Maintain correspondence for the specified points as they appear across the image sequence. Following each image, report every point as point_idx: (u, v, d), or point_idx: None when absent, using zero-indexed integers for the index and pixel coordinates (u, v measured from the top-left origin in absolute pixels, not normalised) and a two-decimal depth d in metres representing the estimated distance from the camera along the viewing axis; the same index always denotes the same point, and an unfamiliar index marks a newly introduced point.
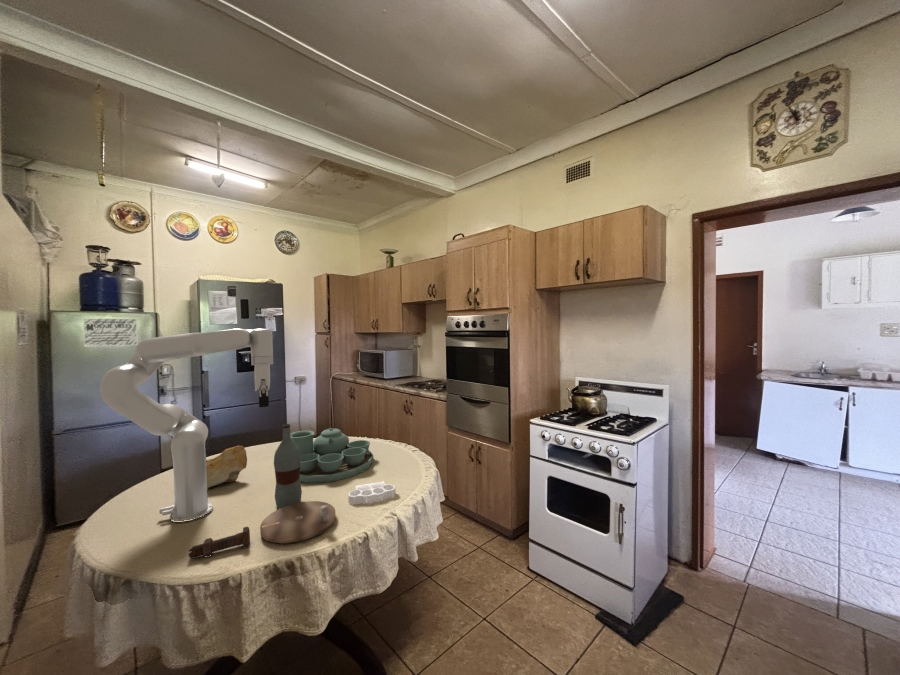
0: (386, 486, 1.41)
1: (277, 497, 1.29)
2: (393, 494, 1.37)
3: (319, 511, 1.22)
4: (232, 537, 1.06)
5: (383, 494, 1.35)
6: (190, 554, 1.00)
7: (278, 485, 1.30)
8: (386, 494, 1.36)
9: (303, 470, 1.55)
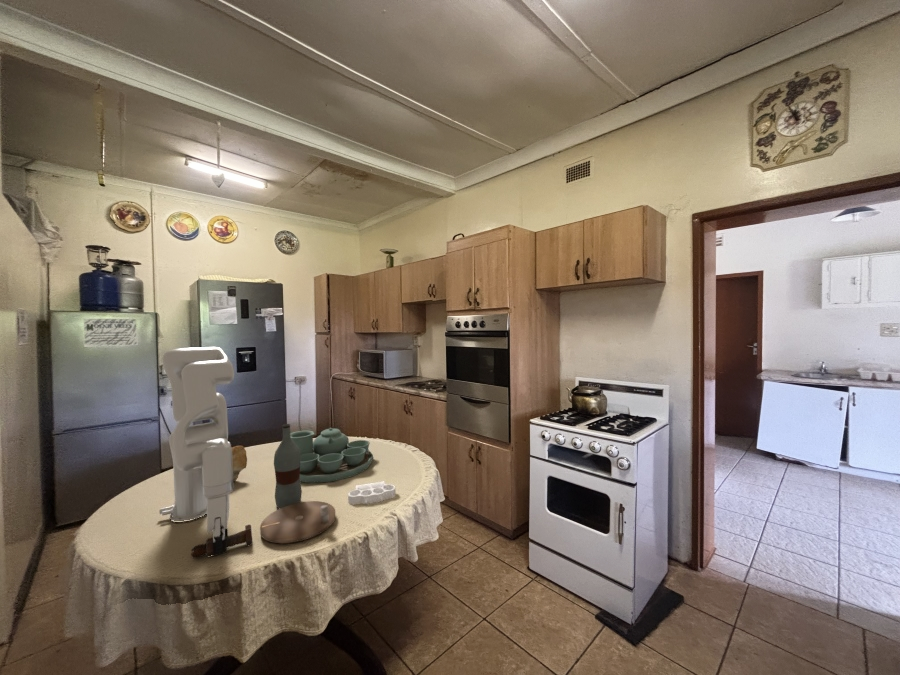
0: (386, 486, 1.41)
1: (277, 497, 1.29)
2: (393, 494, 1.37)
3: (319, 511, 1.22)
4: (235, 535, 1.06)
5: (383, 494, 1.35)
6: (193, 554, 1.00)
7: (278, 485, 1.30)
8: (386, 494, 1.36)
9: (303, 470, 1.55)
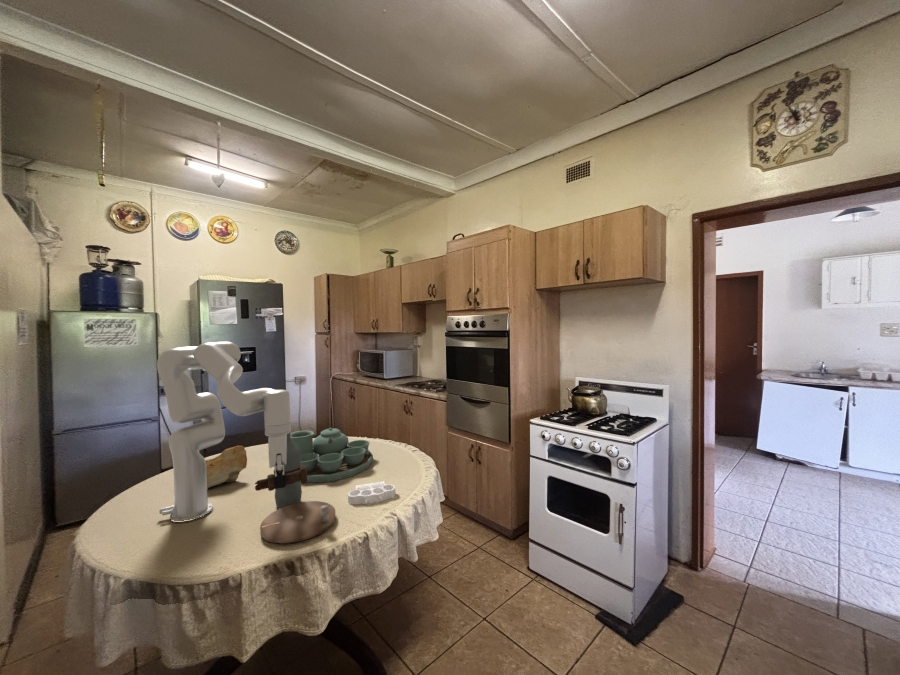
0: (386, 486, 1.41)
1: (277, 497, 1.29)
2: (393, 494, 1.37)
3: (319, 511, 1.22)
4: (292, 473, 1.16)
5: (383, 494, 1.35)
6: (256, 486, 1.10)
7: None
8: (386, 494, 1.36)
9: None
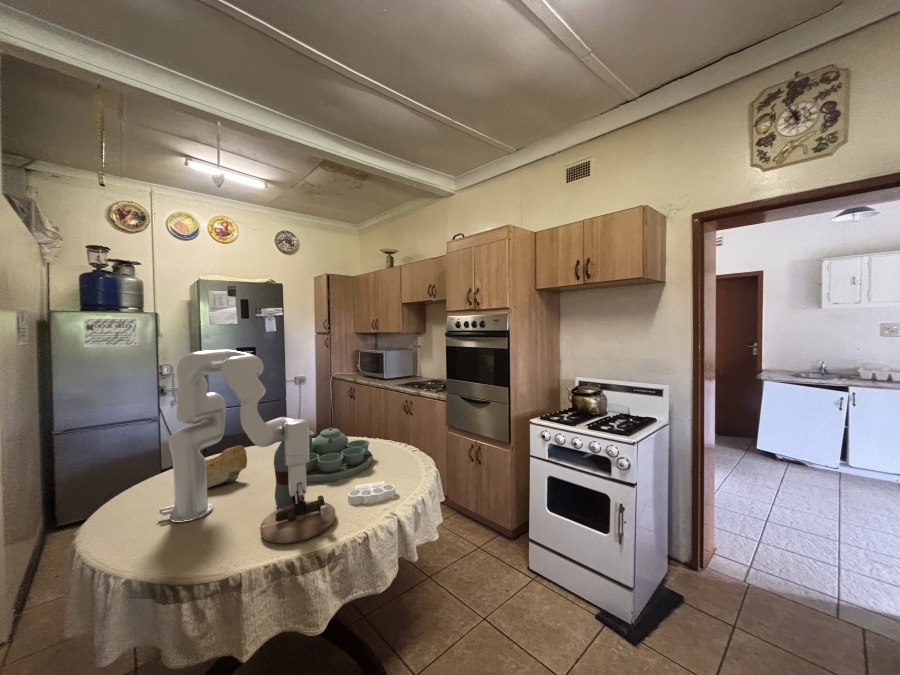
0: (386, 486, 1.41)
1: (277, 497, 1.29)
2: (393, 494, 1.37)
3: None
4: (310, 504, 1.19)
5: (383, 494, 1.34)
6: (277, 518, 1.14)
7: (278, 485, 1.30)
8: (386, 494, 1.36)
9: None
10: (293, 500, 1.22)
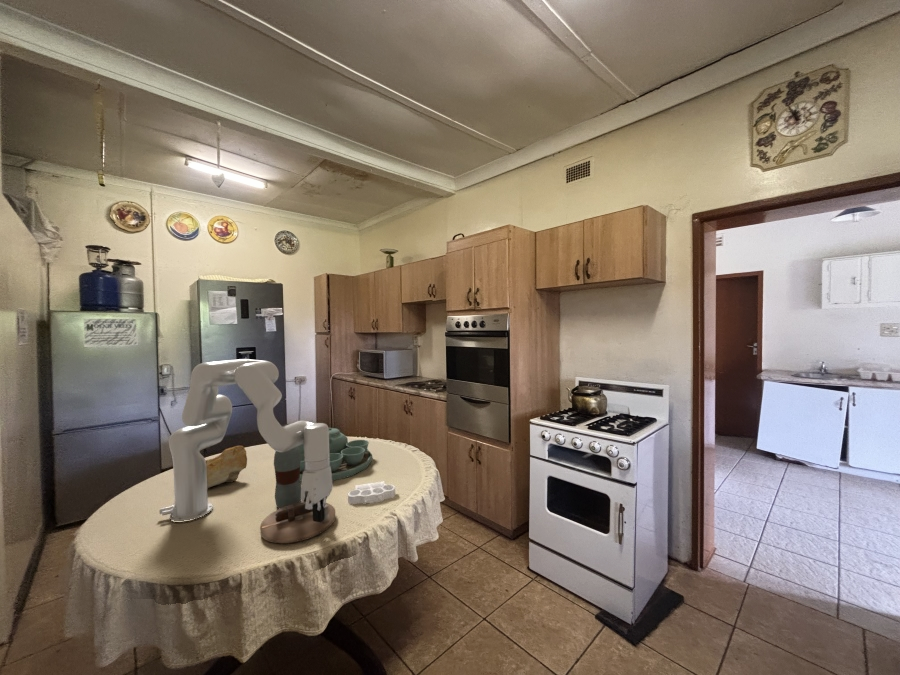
0: (386, 486, 1.41)
1: (277, 497, 1.29)
2: (393, 494, 1.37)
3: None
4: None
5: (382, 494, 1.34)
6: (277, 518, 1.14)
7: (278, 485, 1.30)
8: (385, 494, 1.36)
9: (303, 470, 1.55)
10: None
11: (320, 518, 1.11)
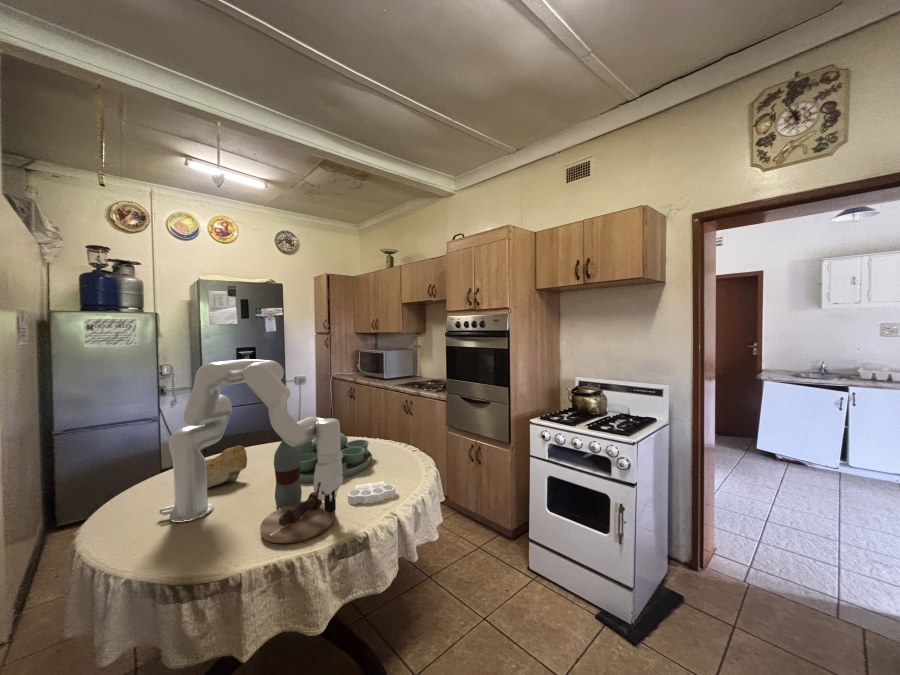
0: (386, 486, 1.41)
1: (277, 497, 1.29)
2: (392, 494, 1.37)
3: (311, 508, 1.25)
4: (308, 501, 1.21)
5: (382, 494, 1.34)
6: (285, 521, 1.12)
7: (278, 485, 1.30)
8: (385, 494, 1.36)
9: (302, 470, 1.55)
10: None
11: (332, 508, 1.17)
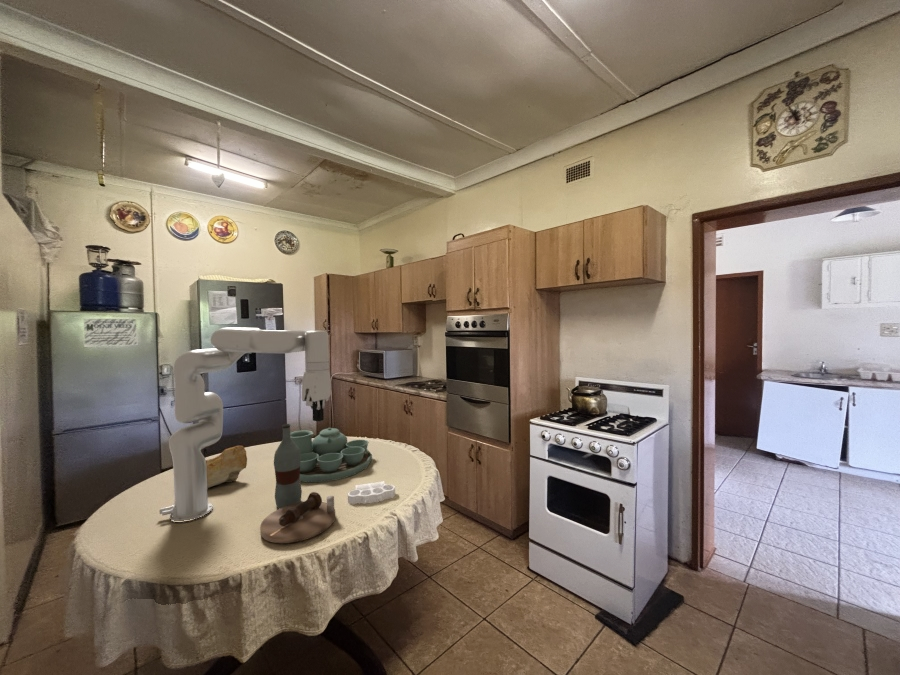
0: (386, 486, 1.41)
1: (277, 497, 1.29)
2: (392, 494, 1.37)
3: (311, 508, 1.25)
4: (308, 501, 1.21)
5: (382, 494, 1.34)
6: (286, 521, 1.12)
7: (278, 485, 1.30)
8: (385, 494, 1.36)
9: (302, 470, 1.55)
10: None
11: (319, 417, 1.20)
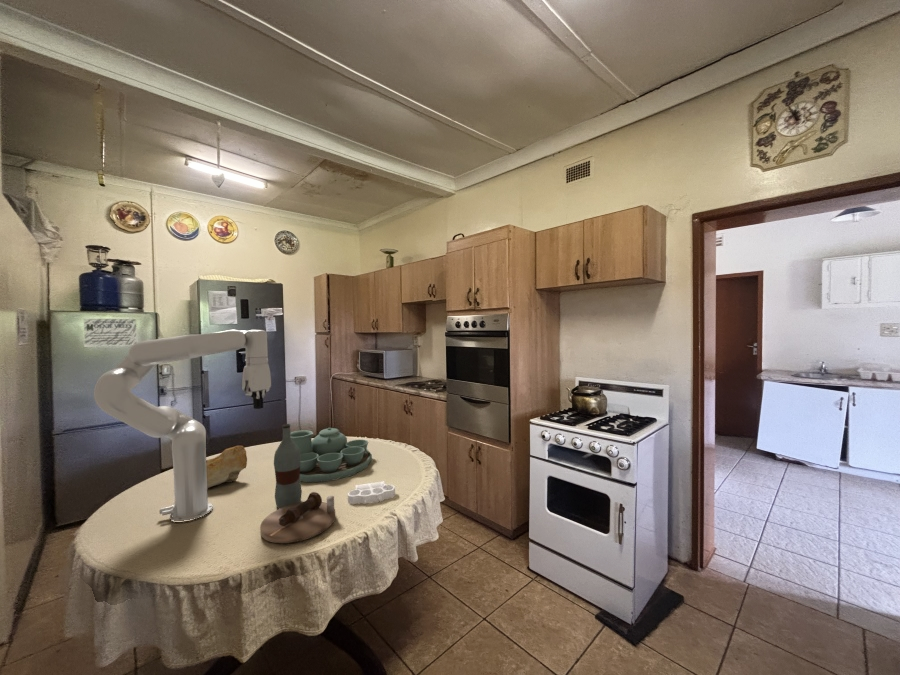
0: (386, 486, 1.41)
1: (277, 497, 1.29)
2: (392, 494, 1.37)
3: (311, 508, 1.25)
4: (308, 501, 1.21)
5: (382, 494, 1.34)
6: (286, 521, 1.12)
7: (278, 485, 1.30)
8: (385, 494, 1.35)
9: (302, 469, 1.55)
10: None
11: (259, 405, 1.37)
